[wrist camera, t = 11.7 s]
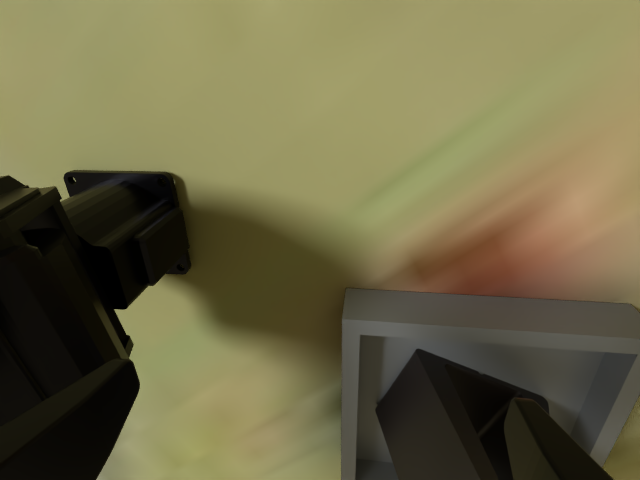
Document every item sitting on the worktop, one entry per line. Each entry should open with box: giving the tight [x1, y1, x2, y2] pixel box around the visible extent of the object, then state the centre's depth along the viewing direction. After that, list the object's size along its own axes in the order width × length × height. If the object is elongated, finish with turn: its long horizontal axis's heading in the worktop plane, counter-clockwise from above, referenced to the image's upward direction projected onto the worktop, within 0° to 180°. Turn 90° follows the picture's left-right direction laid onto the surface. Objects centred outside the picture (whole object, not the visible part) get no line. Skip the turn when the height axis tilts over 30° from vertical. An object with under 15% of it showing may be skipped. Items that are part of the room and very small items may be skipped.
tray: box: [341, 288, 640, 480], centre depth 24 cm, size 16×16×3 cm
